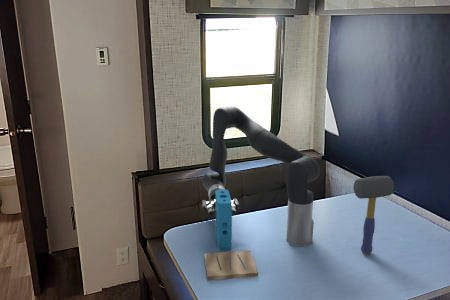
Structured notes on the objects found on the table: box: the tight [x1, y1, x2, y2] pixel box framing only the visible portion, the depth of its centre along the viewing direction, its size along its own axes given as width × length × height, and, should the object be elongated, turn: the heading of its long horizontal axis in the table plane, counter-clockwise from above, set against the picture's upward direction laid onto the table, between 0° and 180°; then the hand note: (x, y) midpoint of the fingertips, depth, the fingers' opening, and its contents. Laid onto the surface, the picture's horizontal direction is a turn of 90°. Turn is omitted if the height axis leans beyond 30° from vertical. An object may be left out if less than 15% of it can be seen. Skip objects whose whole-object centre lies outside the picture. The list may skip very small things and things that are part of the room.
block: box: [215, 188, 233, 251], centre depth 163 cm, size 12×5×20 cm, turn 6°
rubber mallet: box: [353, 175, 395, 256], centre depth 155 cm, size 12×8×30 cm, turn 103°
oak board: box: [203, 249, 259, 281], centre depth 151 cm, size 17×14×2 cm
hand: (222, 213), depth 166 cm, fingers open, 8 cm apart
